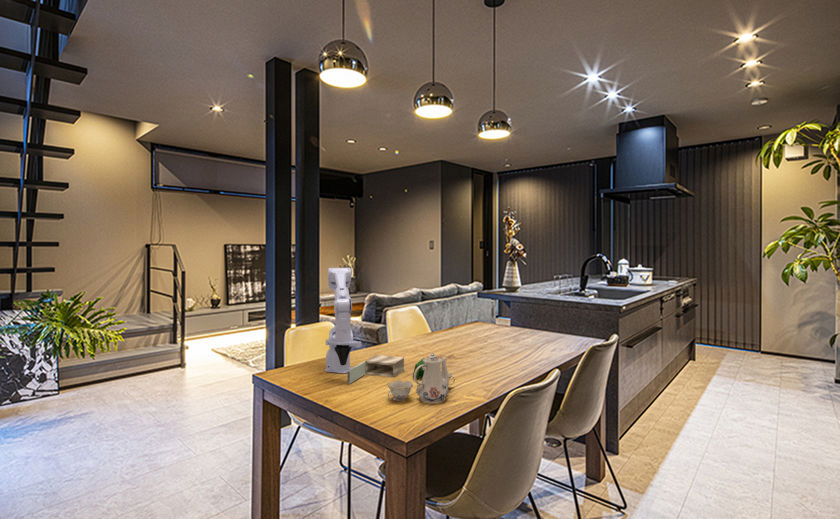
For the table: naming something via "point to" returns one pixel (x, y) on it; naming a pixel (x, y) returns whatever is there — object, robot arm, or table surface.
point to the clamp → (420, 371)
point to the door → (356, 372)
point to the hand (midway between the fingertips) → (343, 364)
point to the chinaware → (426, 382)
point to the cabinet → (384, 365)
